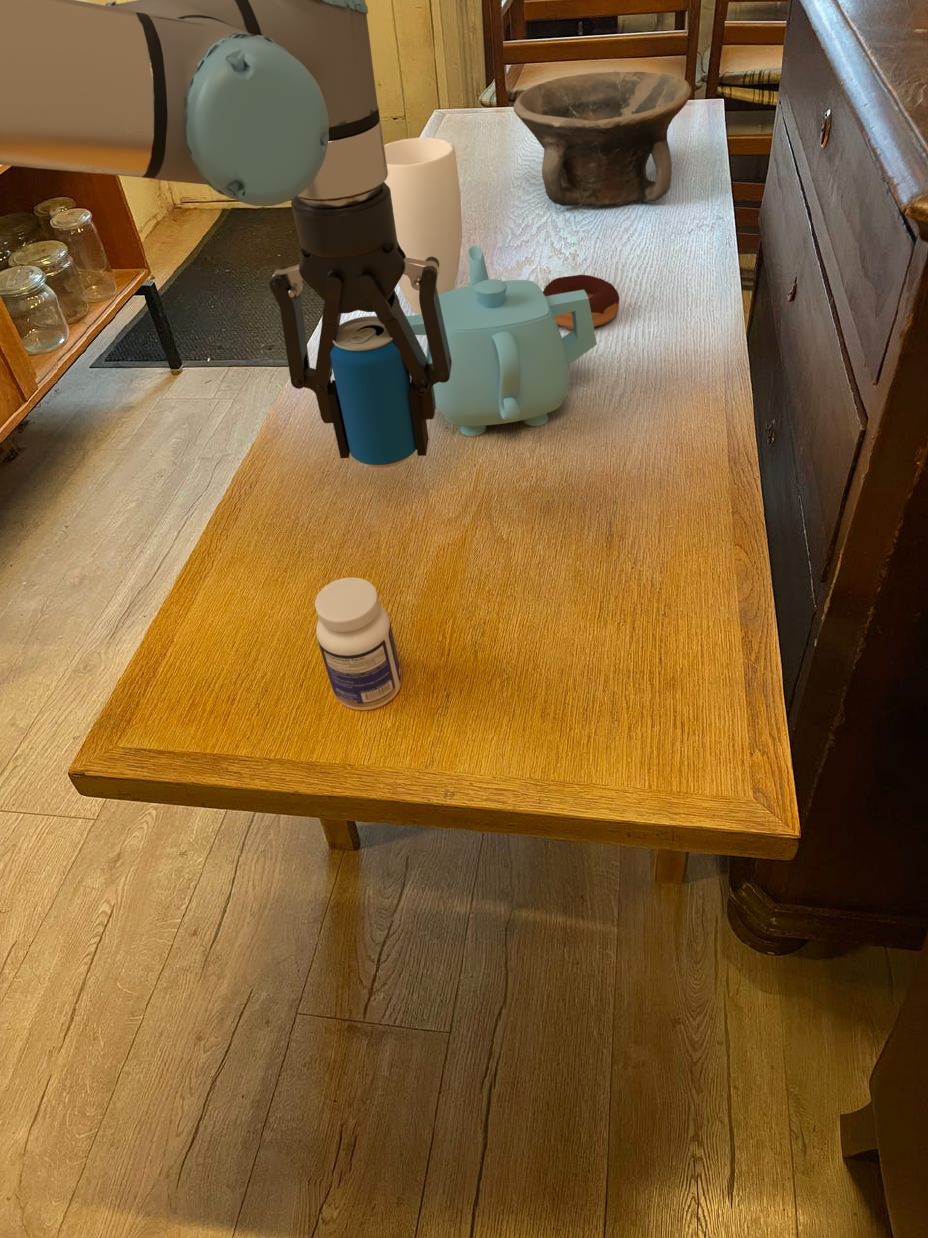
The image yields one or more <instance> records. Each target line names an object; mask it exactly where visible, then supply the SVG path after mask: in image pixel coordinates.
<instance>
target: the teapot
mask: <svg viewBox="0 0 928 1238" xmlns="http://www.w3.org/2000/svg"><path fill="white" fill-rule="evenodd" d="M468 265H469V281H468V285H467V286H463V287H458V288H454V289H453V290H450V291H447V292H444V293H442V294H440V295H439V301H440V306H441V311H442V316H443V321H444V325H445V330H446V335H447V340H448V345H449V350H450V355H451V360H452V366H451V372H450V378H449V380H448V381H447V382H445V383H441V382H438V383H436V384H434V385H433V386H434V395H435V403H436V408H437V409H438V410H439V412H440V414H441V415H442V416H443V418H444V419H445V420H446V421H447V423H449V424H452V425H455V426H460V429H459V431H460V433H461V434H462V435H464V436H467V437H476V436H479V435H482V434H484V433H485V432H486V430H487V426H491V425H493V426H494V425H501V424H509V423H515V422H519V421H520V422H521V421H522V422H523V423H524V424H525V425H527V426H531V427H539V426H543V425H545V424H547V423H548V422H549V419H550V417H549V416H548V413H551V412H555V410H557V409H559V408H560V407H561V405H562V404H563V402H564V400H565V398H566V397H567V394H568V392H569V387H570V372H569V371H570V369H569V366H571V365H573V364H574V363H575V362H576V361H577V360H579V359H580V358H581V357H582V356H584V355H585V354H586V353H588V352H589V351H590V350H592V349H593V348H595V347H596V346H597V344H598V343H597V338H596V332H595V327H594V326H593V320H592V315H591V309H590V303H589V298H588V296H587V294H586V292H585V290H579V291H573V292H567V293H562V294H556V295H550V296H545V295H544V294H543V290H542V289H541V287H540V285H538V284H537V283H536V282H535V281H533V280H527V279H513V280H501V279H496V278H495V279H494V278H491V279H490V278H489V274H488V271H487V266H486V261H485V256H484V253H483V251H482V248H480V247H479V246H478V245H472V246H471V247H469V249H468ZM570 312H572V319H573V329H572V330H571V331H570V332H568V333H567V334H565V335H564V336H562V333H561V331H560V328H559V325H558V324H557V322H556V320H555V316H559V315H562V314H566V313H570ZM405 316H406V318H407V320H408V322H409V324H410V326H411V328H412V330H413V332H414V334H415V336H427V335H426V331H425V326H424V322H423V317H422V315H417V314H414V315H413V314H412V315H405ZM426 357H427V359H428V361H429V363H430V364H431V363H433V362H432V358H431V353H430V349H429V344H428V340H427V339H426ZM409 374H410V373H409ZM411 379H412V377H411V375H410V381H411Z"/></svg>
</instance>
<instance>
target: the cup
mask: <svg viewBox="0 0 928 1238" xmlns="http://www.w3.org/2000/svg"><path fill="white" fill-rule="evenodd" d="M384 148H385V155H386V162H387V169H388V176H387V179H386V180H385V181H384V182H385V183H386V185H388V186H389V188H390V192H391V199H392V206H393V213H394V221H395V228H396V235H397V240H398V243H399V246H400V247H401V249H402V250H403V252H404V253H405V255H406V257H407V258H412V259H417V260H422V261H425V260H426V259H427V258H428V257H435V258H437V259H438V261H439V271H438V278H437V284H436V286H437V291H438V296H439V295H440V294H442V293H444V292H447V291H450V290H453V289H456V288H455V287H456V284H457V279H458V275H459V269H460V258H461V249H462V242H463V241H462V239H463V225H462V223H463V222H462V221H463V220H462V198H461V197H462V196H461V187H460V180H459V172H458V171H459V170H458V162H457V153H456V148H455V146H454V144H453V143H452V142H450V141H448V140H446V139H444V138H443V139H442V138H437V137H412V138H404V139H400V140H395V141H391V142H389V143H386V144H384ZM397 285H398V286H399V288H400V290H401V293H402V294H403V297H404V299H405V301H406V302H407V304H408V305H409V307H410V309H411V311H412V312H413V313H414V314H415V315H422V313H421V308H420V303H419V290H418V291H417V290H415V289H414V288H413V287H412V285H411V281H410V278H409V277H408V276H407V275H405V274H403V275H402V277H401V279H400V280H399V282H398V284H397Z"/></svg>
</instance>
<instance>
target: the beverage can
mask: <svg viewBox="0 0 928 1238" xmlns="http://www.w3.org/2000/svg"><path fill="white" fill-rule="evenodd" d="M392 340H393V338H392V337H390V335H389V334H388V332H387V330H386V328H385V326H384V324H382V323H381V322H380V321H379V319H378V317H377V315H371V316H370V315H369V316H360V317H355V318H352V319H349V320H347V321H344V322H343V323H340V325H339V330H338V334H337V336H336V339H335V341H334V340H333V343H334V346H333V349H332V350H331V353H330V357H331V363H332V368H333V369H332V372H333V373H332V374H333V377H334V380H335V383H336V387H337V392H338V397H339V402H340V407H341V411H342V416H343V421H344V426H345V431H346V435H347V440H348V445H349V450H350V456H351V457H352V458H353V459H354V460H356V461H357V462H359V463H361V464H364V465H366V466H369V467H371V468H376V469H377V468H378V469H382V468H383V469H384V468H385V469H386V468H390V467H394V466H398V465H400V464H402V463H404V462H405V461H407V459H409V458H410V457H411V456H412V455H414V453H415V452H417V448H416V441H415V434H414V427H413V420H412V413H411V407H410V400H409V388H410V384H411V381H410V374H409V371H408V370H407V368H406V366H405V364H404V362H403V360H402V358H401V353H400V350H399V349H398V348H397V347H396V346H395V345H394V343H393V341H392Z"/></svg>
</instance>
